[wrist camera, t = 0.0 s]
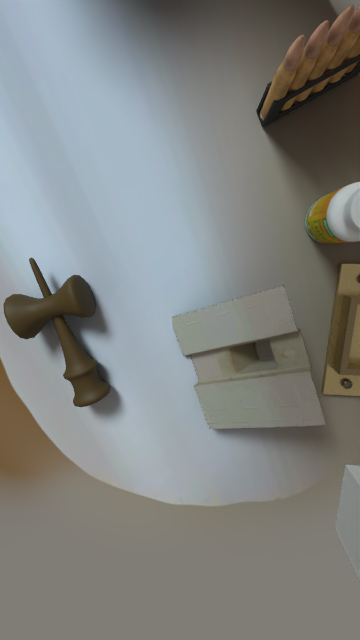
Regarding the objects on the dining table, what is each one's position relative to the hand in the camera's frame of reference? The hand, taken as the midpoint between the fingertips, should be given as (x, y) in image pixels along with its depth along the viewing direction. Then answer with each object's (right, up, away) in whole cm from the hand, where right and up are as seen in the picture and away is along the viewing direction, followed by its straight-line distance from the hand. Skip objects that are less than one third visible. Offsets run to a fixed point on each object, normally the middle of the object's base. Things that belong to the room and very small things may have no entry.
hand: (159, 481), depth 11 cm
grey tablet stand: (+8, +1, +28) cm, 29 cm away
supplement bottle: (+18, +18, +23) cm, 35 cm away
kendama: (-14, +5, +29) cm, 33 cm away
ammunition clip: (+14, +31, +21) cm, 40 cm away
